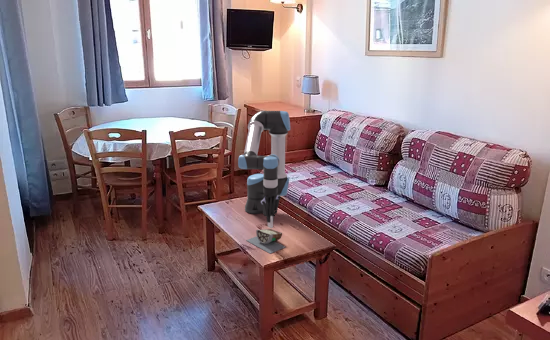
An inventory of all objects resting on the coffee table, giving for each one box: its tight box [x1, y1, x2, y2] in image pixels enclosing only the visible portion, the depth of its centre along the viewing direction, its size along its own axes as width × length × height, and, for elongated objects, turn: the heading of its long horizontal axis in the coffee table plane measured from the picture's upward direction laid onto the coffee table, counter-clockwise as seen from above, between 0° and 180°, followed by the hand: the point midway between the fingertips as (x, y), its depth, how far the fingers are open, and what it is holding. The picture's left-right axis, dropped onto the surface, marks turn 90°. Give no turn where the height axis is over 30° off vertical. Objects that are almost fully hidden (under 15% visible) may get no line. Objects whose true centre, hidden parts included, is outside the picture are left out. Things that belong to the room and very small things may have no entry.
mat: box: [245, 235, 286, 255], centre depth 236 cm, size 11×20×1 cm, turn 42°
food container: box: [255, 228, 283, 244], centre depth 237 cm, size 12×6×10 cm
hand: (270, 227), depth 235 cm, fingers closed
